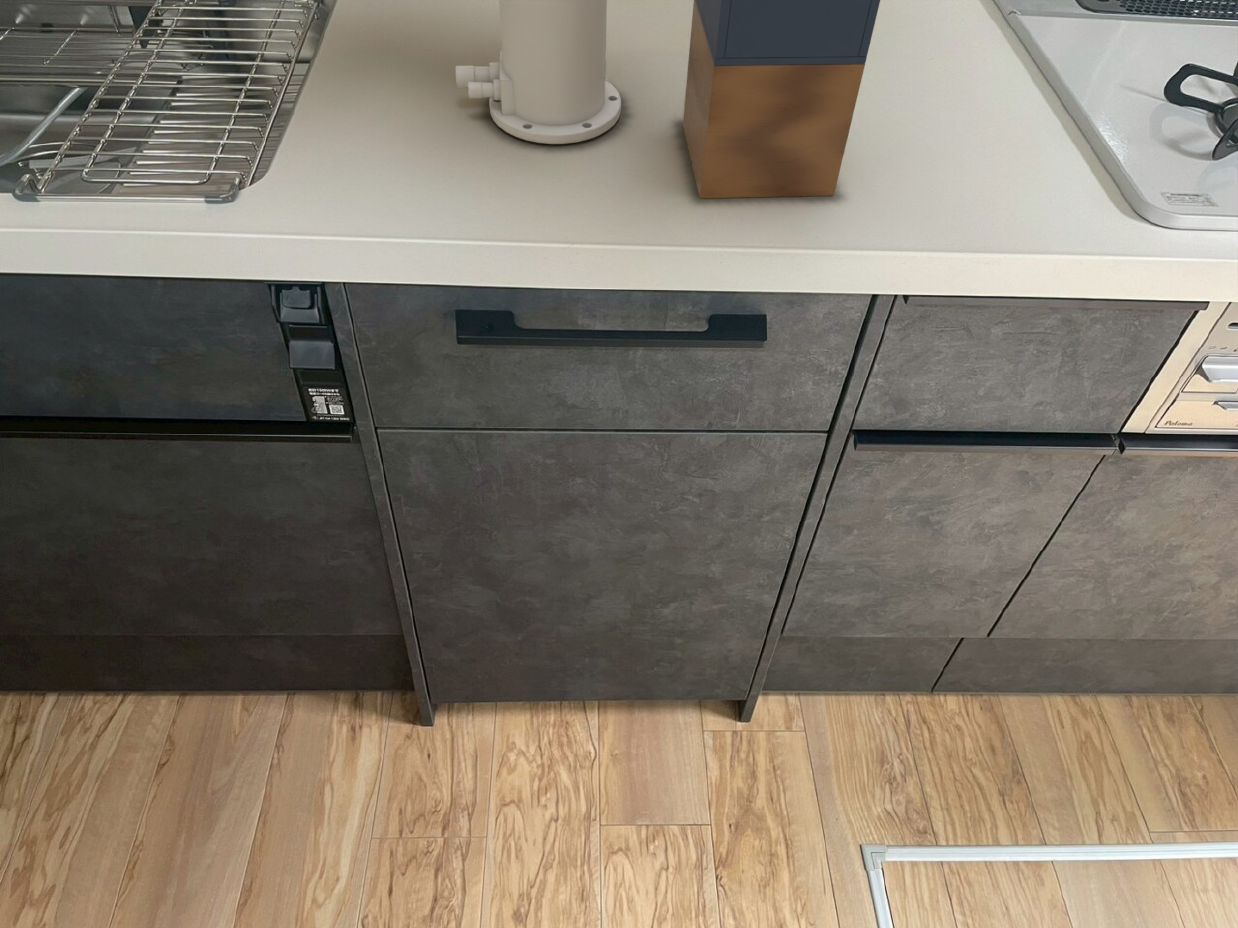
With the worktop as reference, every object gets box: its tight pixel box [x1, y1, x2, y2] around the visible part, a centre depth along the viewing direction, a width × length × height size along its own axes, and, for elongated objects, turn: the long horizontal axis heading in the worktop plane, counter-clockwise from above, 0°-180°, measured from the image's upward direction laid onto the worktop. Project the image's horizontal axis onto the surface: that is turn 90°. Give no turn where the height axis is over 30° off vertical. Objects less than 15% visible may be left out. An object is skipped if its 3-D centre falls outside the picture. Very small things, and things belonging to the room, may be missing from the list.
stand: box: [682, 0, 866, 199], centre depth 82 cm, size 12×12×12 cm
